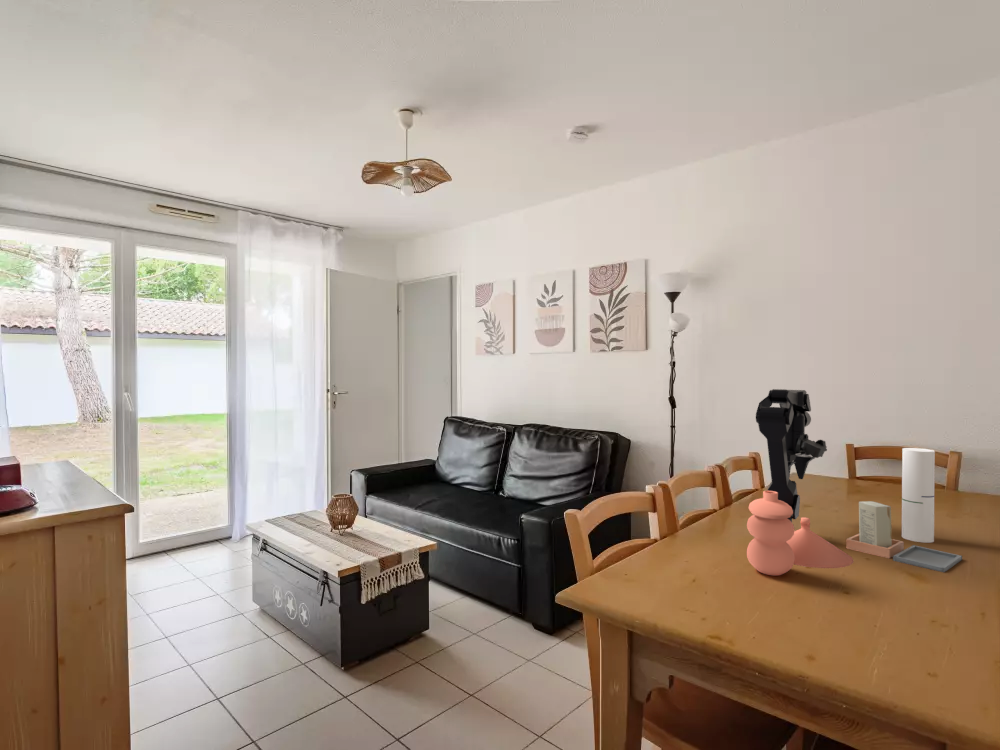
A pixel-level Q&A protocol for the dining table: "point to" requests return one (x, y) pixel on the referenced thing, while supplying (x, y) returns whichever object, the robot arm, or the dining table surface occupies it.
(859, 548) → the holder
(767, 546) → the ceramic vessels
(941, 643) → the dining table surface
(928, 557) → the tray
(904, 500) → the cylindrical container
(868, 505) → the skincare box
